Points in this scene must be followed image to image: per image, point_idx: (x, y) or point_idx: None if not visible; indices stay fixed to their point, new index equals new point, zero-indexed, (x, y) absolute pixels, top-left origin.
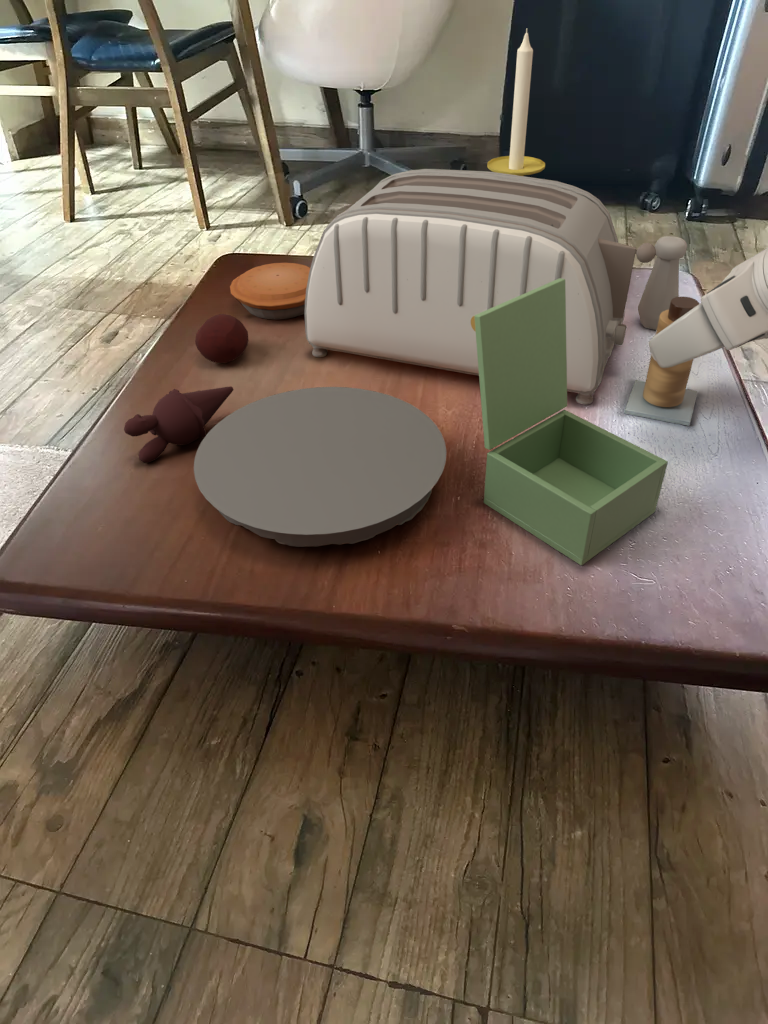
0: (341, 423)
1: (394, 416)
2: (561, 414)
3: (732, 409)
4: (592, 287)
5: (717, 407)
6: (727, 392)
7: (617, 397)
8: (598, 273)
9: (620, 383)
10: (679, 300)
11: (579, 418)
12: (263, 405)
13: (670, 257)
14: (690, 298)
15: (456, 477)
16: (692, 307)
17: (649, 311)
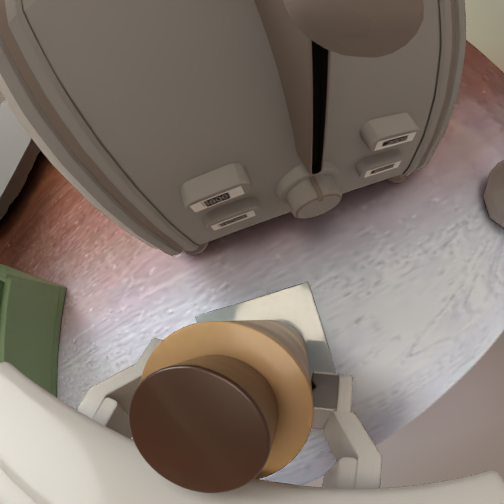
0: (12, 127)
1: (20, 140)
2: (5, 278)
3: (327, 454)
4: (24, 103)
5: (319, 435)
6: (380, 425)
7: (241, 280)
8: (116, 34)
9: (291, 260)
10: (194, 406)
11: (5, 304)
12: None
13: None
14: (255, 447)
15: (23, 224)
16: (162, 474)
17: (496, 187)
